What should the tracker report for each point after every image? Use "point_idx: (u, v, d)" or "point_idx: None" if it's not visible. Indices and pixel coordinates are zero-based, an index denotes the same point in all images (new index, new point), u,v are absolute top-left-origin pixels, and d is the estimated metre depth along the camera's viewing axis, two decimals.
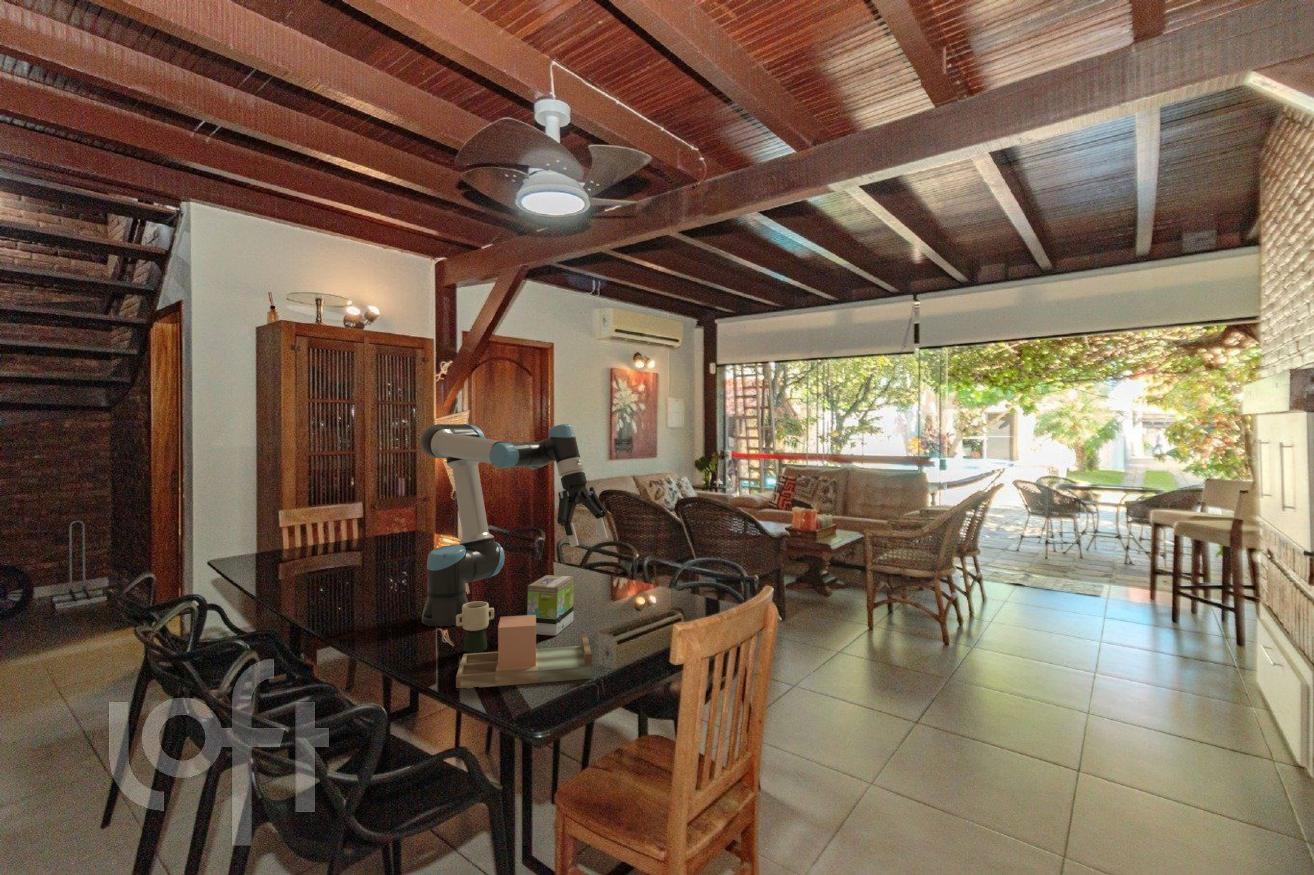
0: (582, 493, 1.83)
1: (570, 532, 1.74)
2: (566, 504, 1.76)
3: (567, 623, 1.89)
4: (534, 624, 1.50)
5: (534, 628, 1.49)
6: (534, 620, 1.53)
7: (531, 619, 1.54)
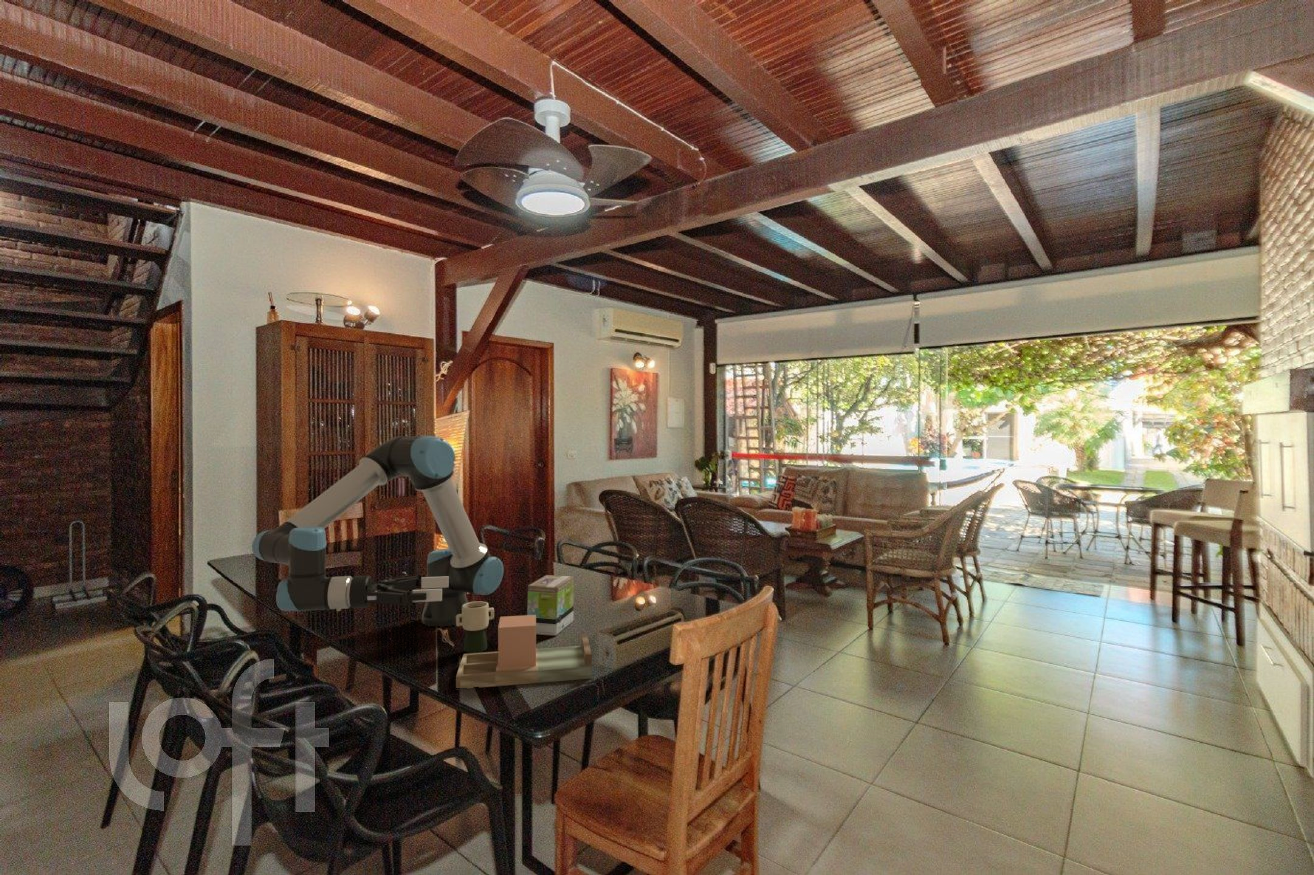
0: None
1: None
2: None
3: (567, 623, 1.89)
4: (534, 624, 1.50)
5: (534, 628, 1.49)
6: (534, 620, 1.53)
7: (531, 619, 1.54)
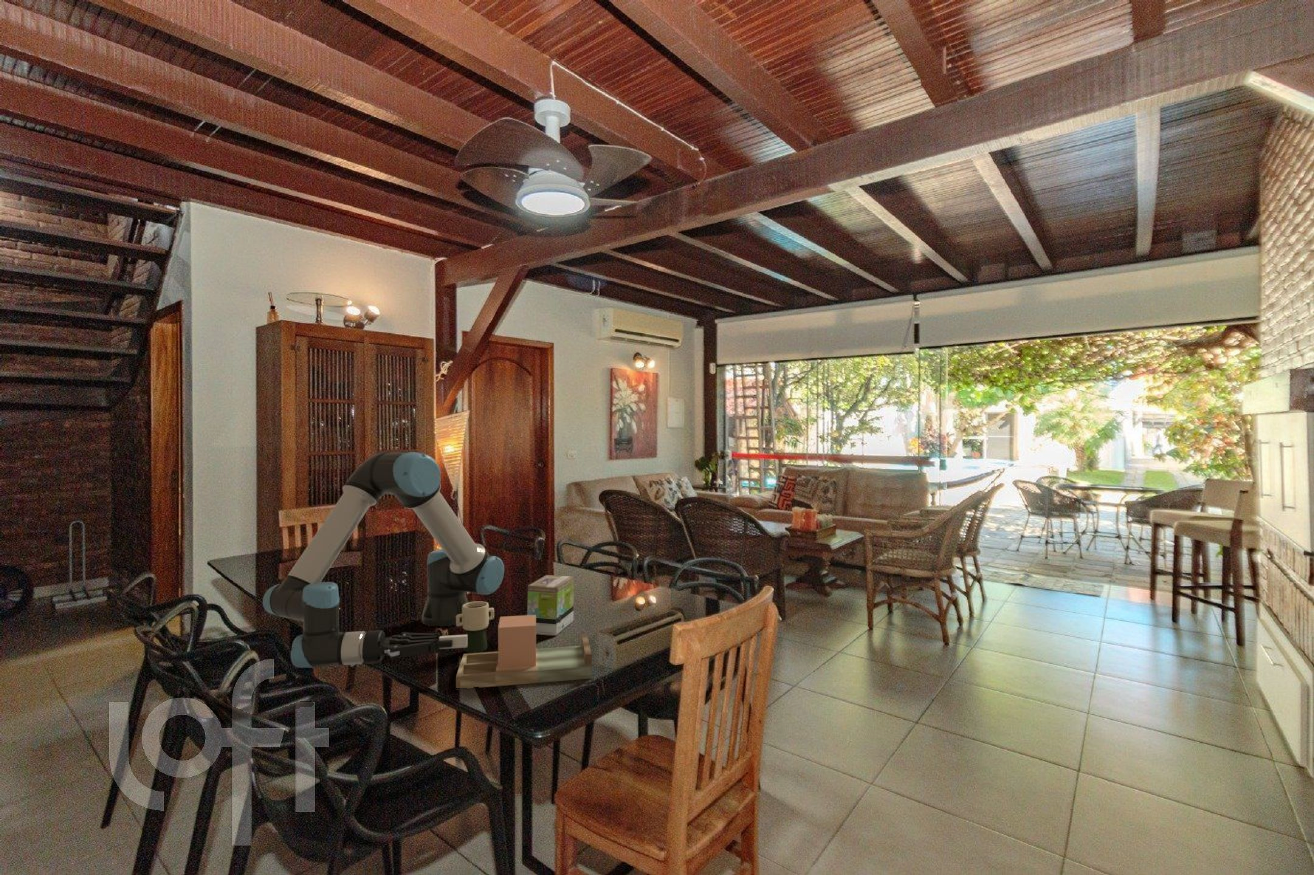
0: None
1: None
2: None
3: (567, 623, 1.89)
4: (534, 624, 1.50)
5: (534, 628, 1.49)
6: (534, 620, 1.53)
7: (531, 619, 1.54)
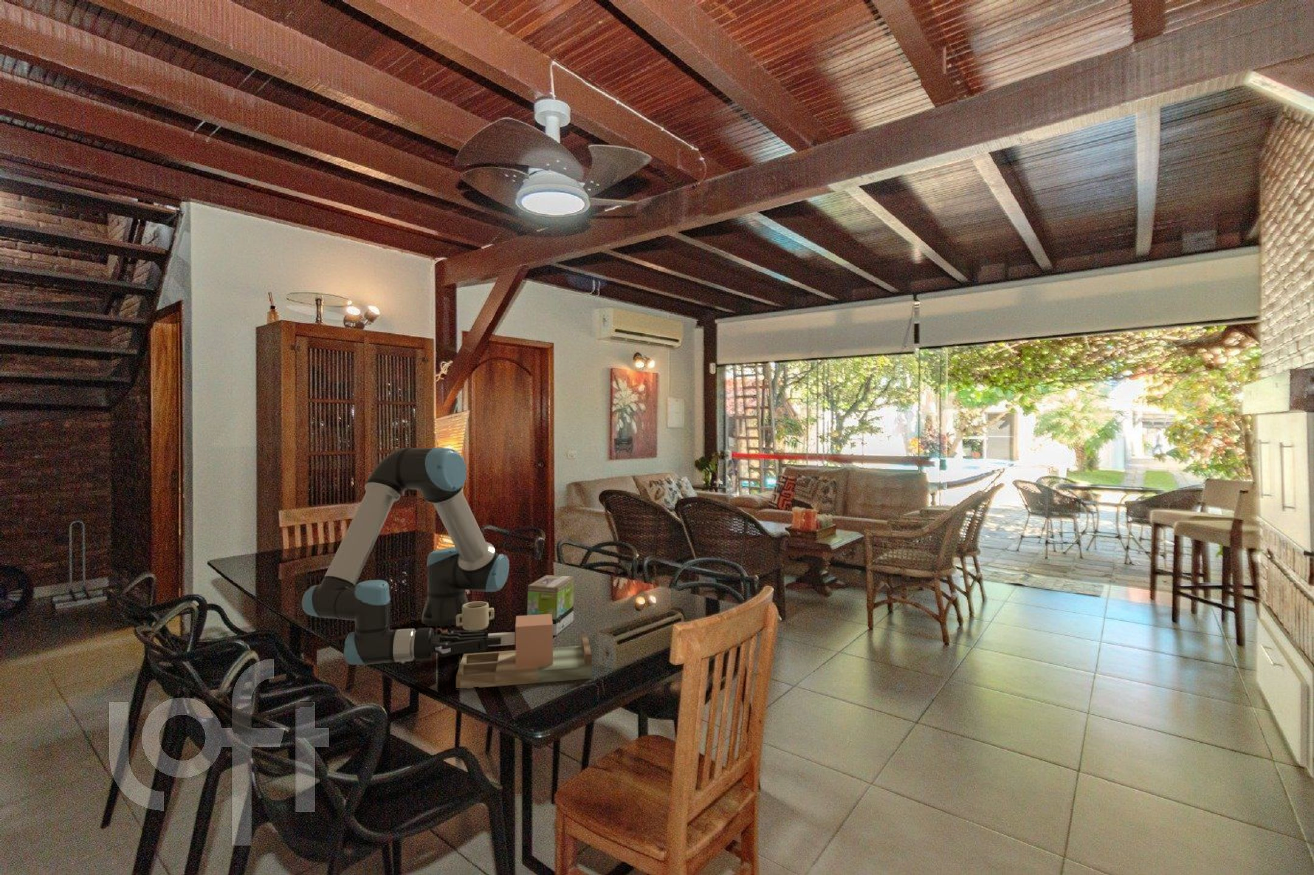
0: None
1: None
2: None
3: (567, 623, 1.89)
4: (551, 623, 1.51)
5: (551, 627, 1.50)
6: (550, 619, 1.54)
7: (547, 618, 1.55)
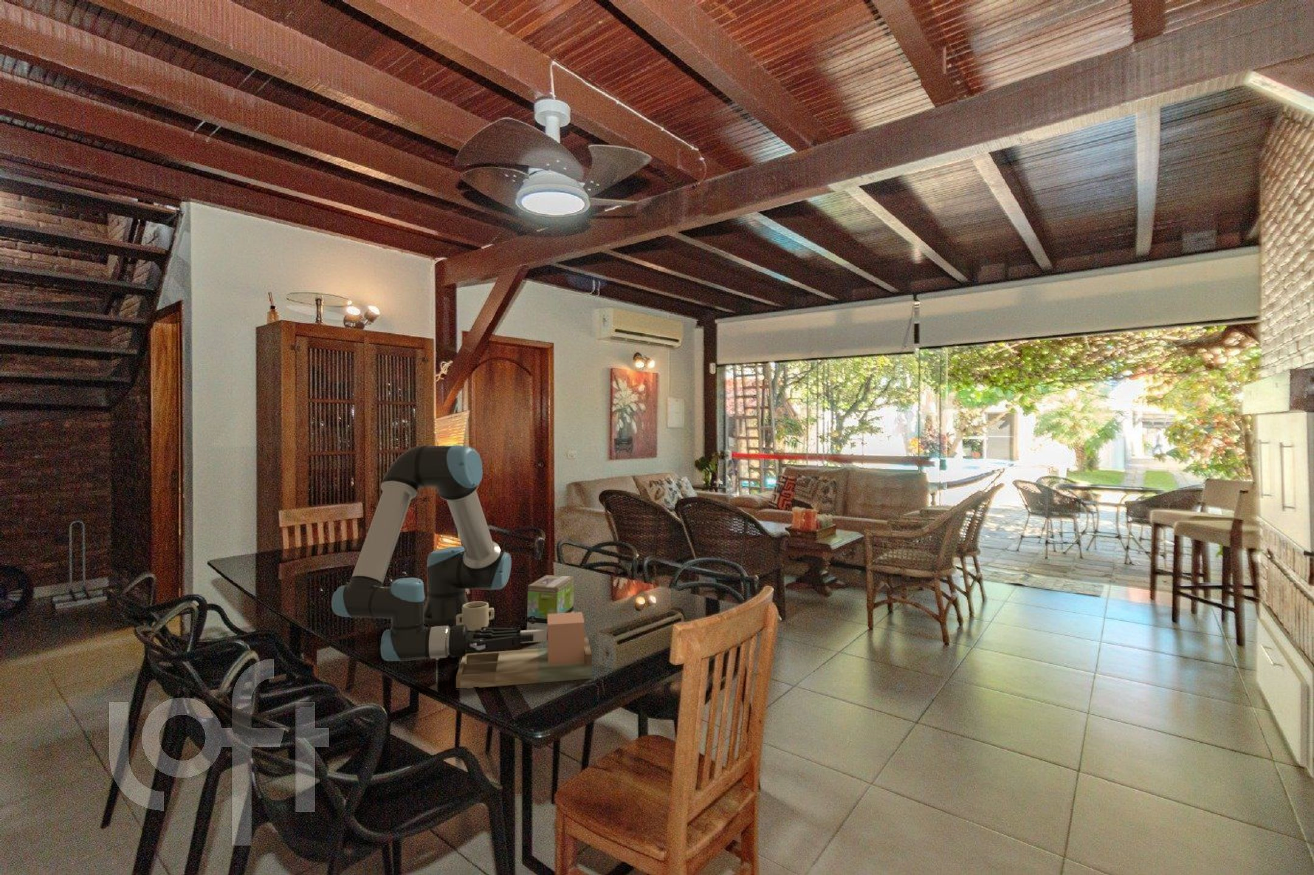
0: None
1: None
2: None
3: None
4: (582, 621, 1.53)
5: (583, 625, 1.52)
6: (581, 617, 1.56)
7: (578, 616, 1.57)
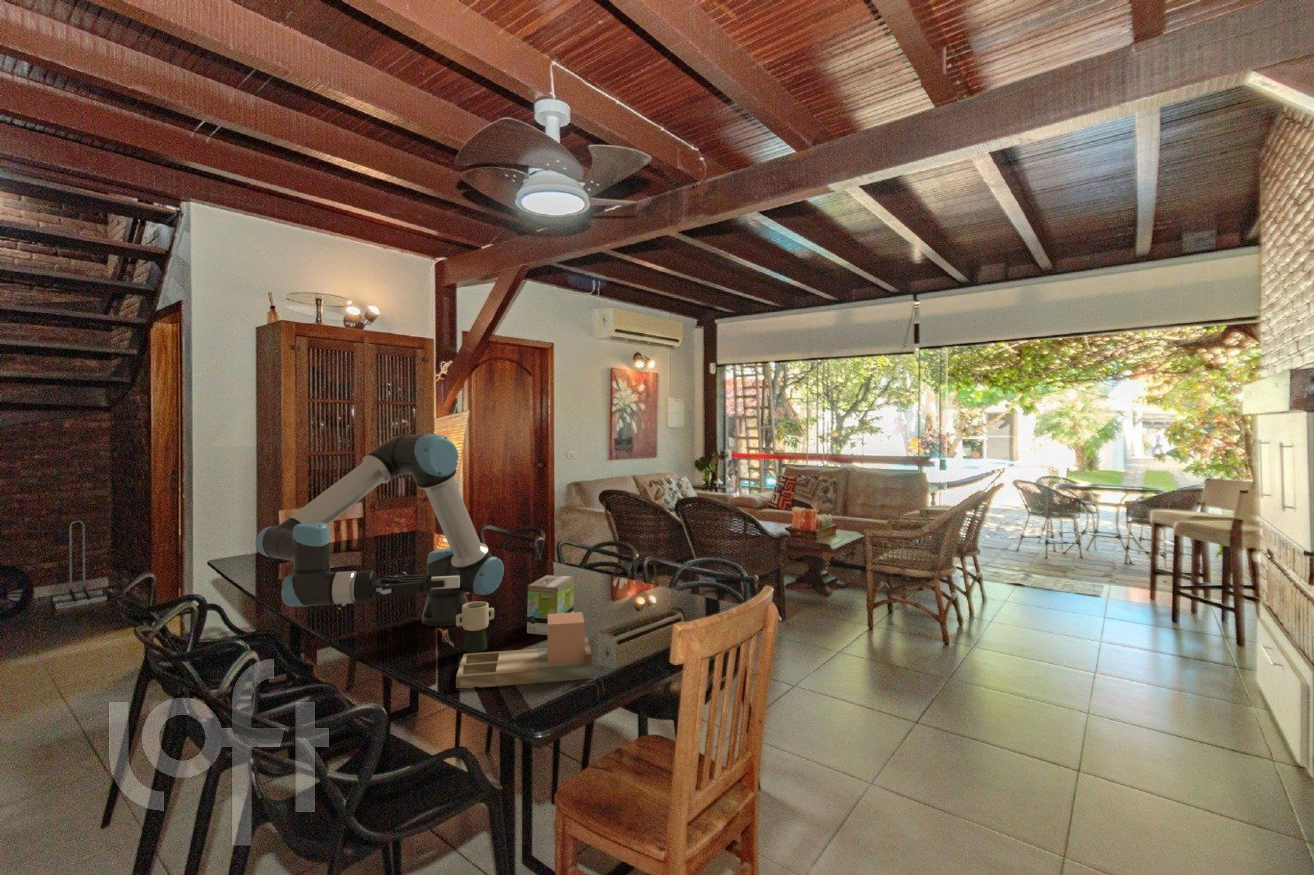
0: None
1: None
2: None
3: None
4: (583, 621, 1.53)
5: (583, 625, 1.52)
6: (582, 617, 1.56)
7: (578, 616, 1.57)
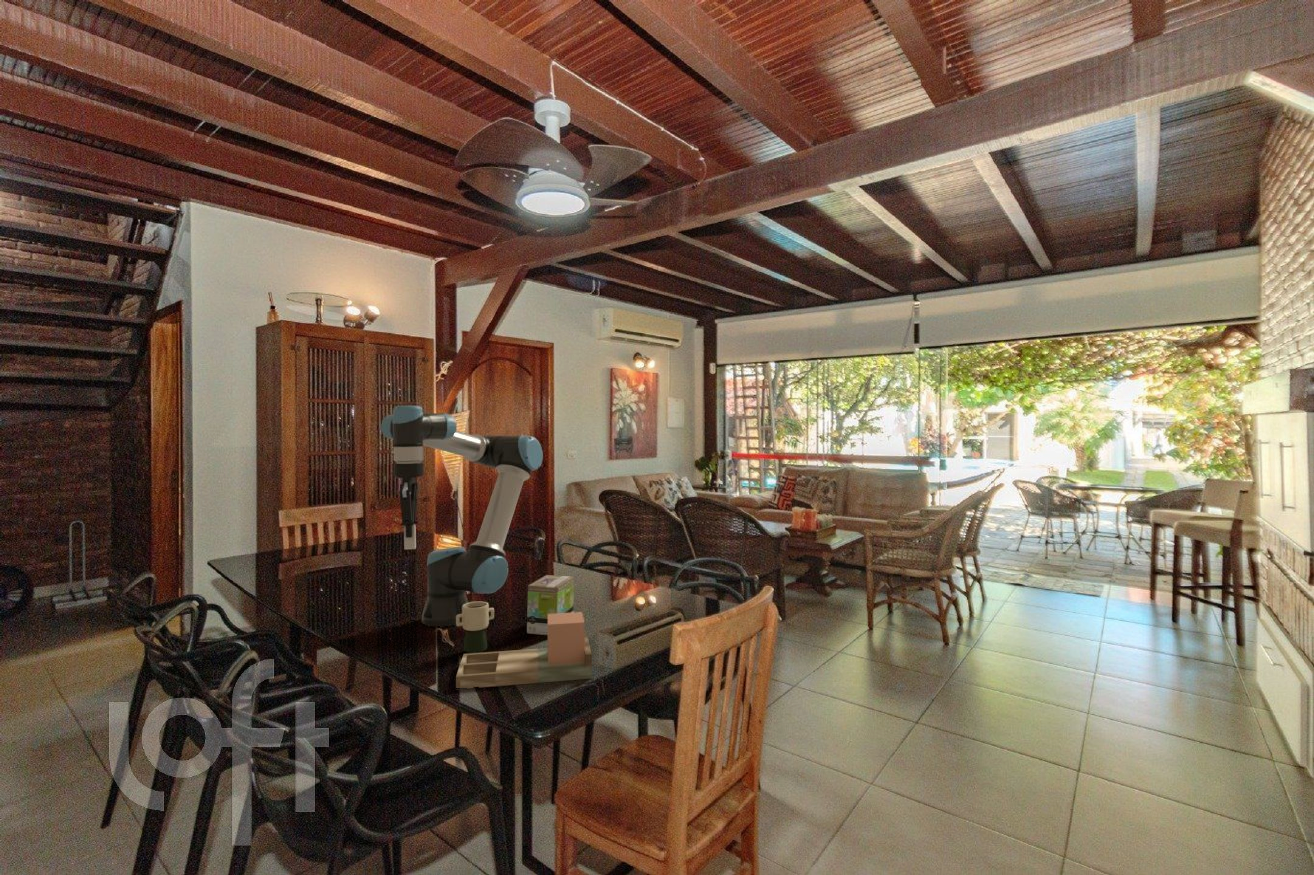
0: None
1: None
2: None
3: None
4: (583, 621, 1.53)
5: (583, 625, 1.52)
6: (582, 617, 1.56)
7: (578, 616, 1.57)
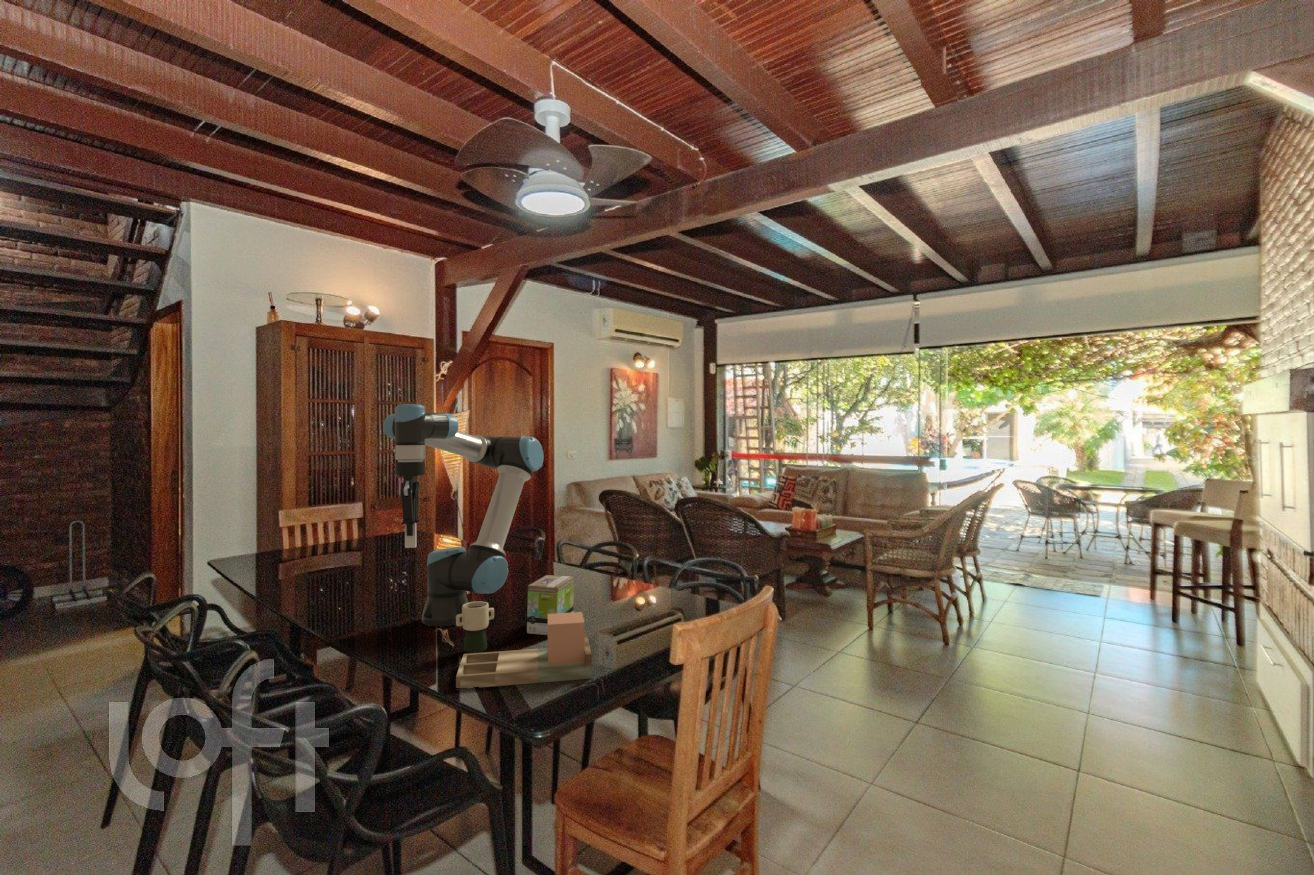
0: None
1: None
2: None
3: None
4: (583, 621, 1.53)
5: (583, 625, 1.52)
6: (582, 617, 1.56)
7: (578, 616, 1.57)
